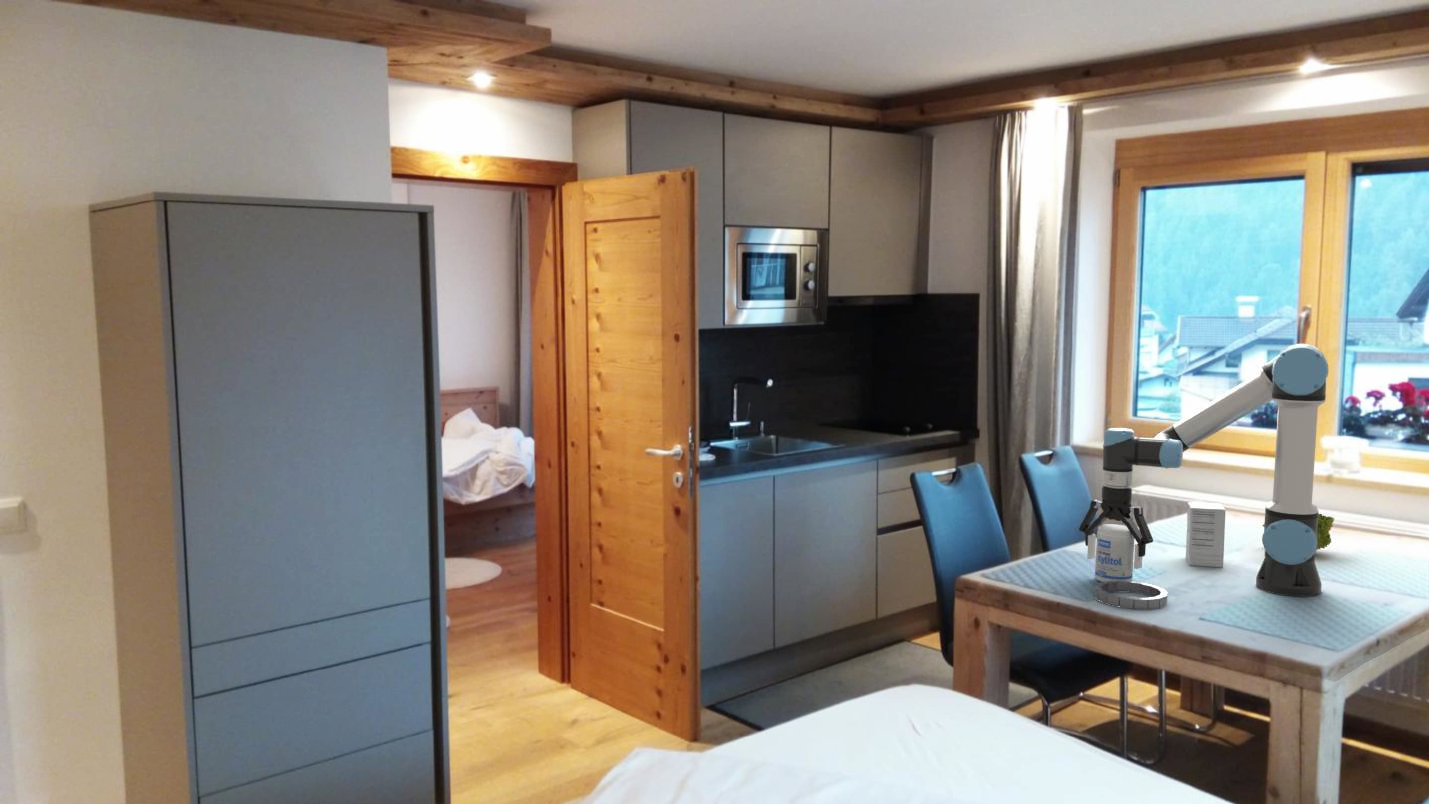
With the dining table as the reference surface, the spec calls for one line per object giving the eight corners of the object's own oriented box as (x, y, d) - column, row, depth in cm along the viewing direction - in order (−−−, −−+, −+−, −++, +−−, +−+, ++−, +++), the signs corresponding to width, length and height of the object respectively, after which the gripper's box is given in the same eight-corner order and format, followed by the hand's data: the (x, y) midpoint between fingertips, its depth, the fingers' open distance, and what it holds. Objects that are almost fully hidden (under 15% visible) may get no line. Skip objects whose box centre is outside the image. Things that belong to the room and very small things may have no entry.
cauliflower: (1328, 531, 321) (1347, 506, 307) (1314, 573, 314) (1333, 549, 301) (1266, 508, 327) (1282, 482, 314) (1251, 548, 321) (1267, 523, 308)
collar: (1179, 600, 267) (1179, 590, 267) (1145, 613, 256) (1145, 603, 256) (1117, 586, 280) (1117, 577, 280) (1082, 598, 269) (1082, 588, 269)
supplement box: (1223, 568, 298) (1226, 509, 296) (1188, 565, 301) (1190, 507, 299) (1219, 560, 307) (1222, 503, 305) (1185, 557, 310) (1187, 501, 308)
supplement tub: (1093, 583, 283) (1095, 529, 282) (1096, 574, 292) (1097, 522, 290) (1132, 587, 279) (1133, 532, 278) (1133, 578, 288) (1135, 525, 286)
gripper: (1067, 481, 290) (1065, 556, 292) (1154, 494, 271) (1151, 574, 273) (1082, 477, 295) (1080, 552, 297) (1168, 490, 276) (1165, 569, 278)
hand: (1114, 563), depth 285 cm, fingers open, 13 cm apart
